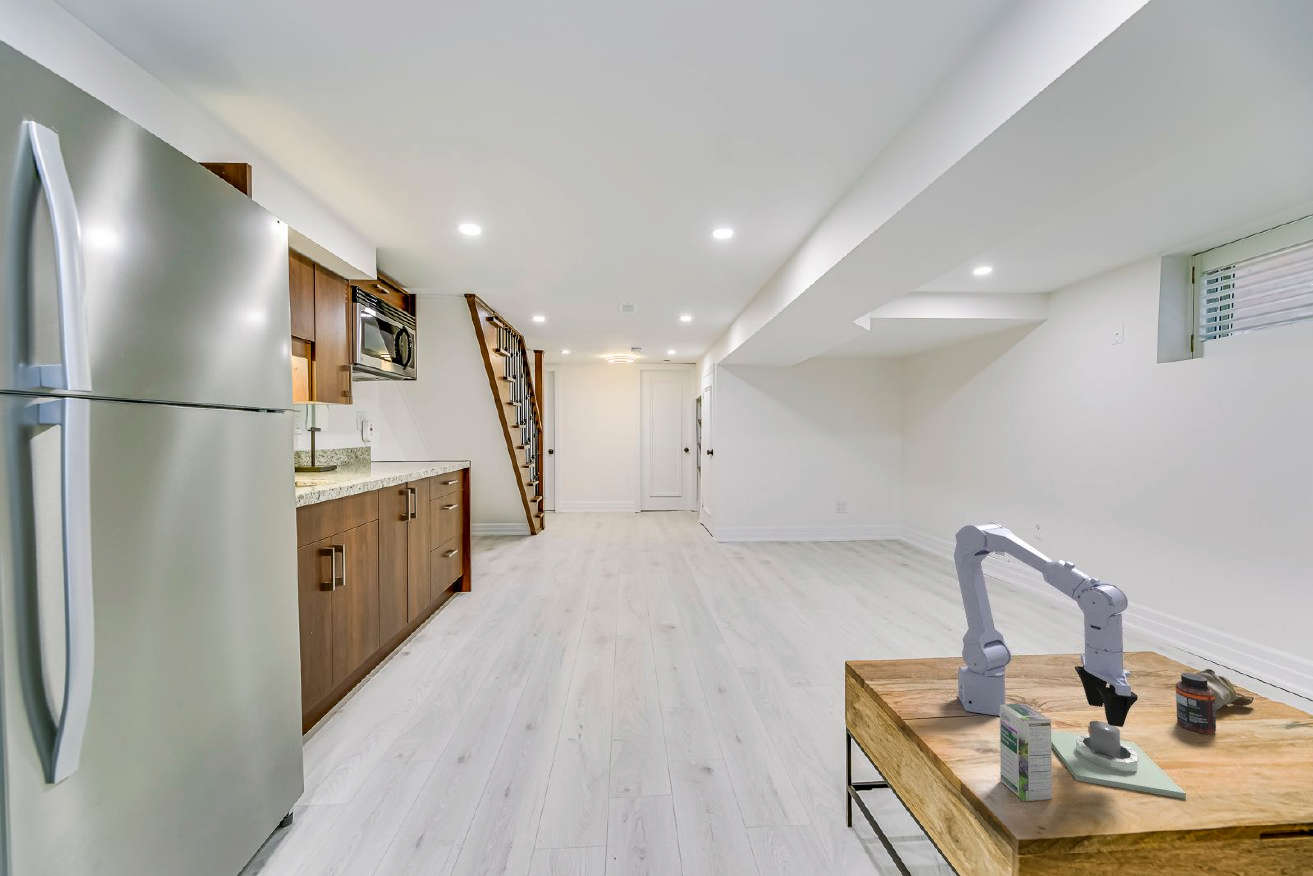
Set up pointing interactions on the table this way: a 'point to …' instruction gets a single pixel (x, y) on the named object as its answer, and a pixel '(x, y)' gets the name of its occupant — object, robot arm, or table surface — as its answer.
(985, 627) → the robot arm
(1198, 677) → the supplement bottle
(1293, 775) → the table surface
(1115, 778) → the plate
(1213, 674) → the ceramic sculpture
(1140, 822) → the table surface
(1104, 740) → the grey rounded block
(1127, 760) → the duct collar
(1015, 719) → the syrup box
